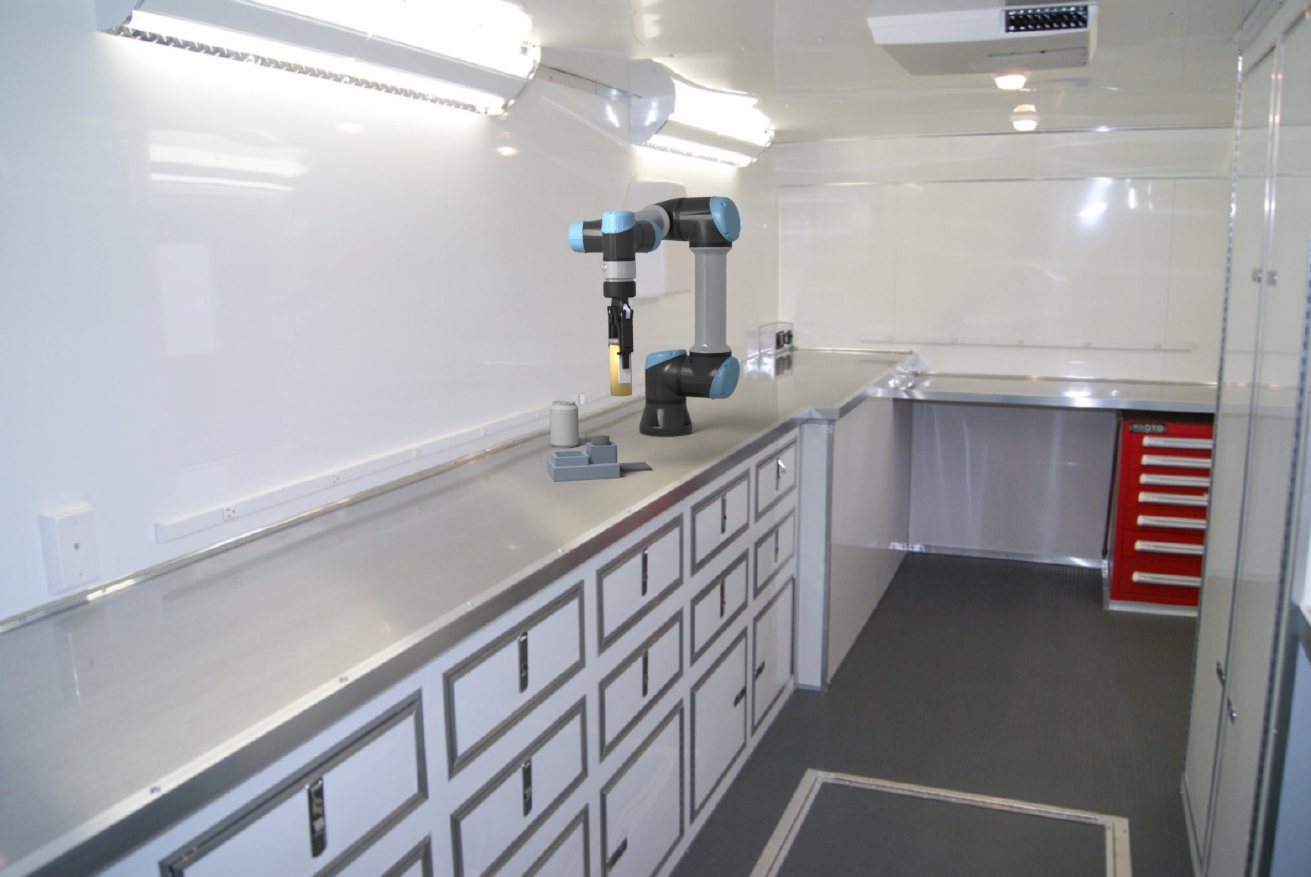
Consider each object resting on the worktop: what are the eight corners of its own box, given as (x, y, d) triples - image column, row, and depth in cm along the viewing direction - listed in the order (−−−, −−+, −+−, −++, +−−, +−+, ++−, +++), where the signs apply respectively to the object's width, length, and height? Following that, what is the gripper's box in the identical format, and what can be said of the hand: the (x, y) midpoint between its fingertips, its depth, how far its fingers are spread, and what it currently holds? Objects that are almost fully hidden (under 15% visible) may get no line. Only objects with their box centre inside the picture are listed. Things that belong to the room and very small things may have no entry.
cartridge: (629, 392, 245) (628, 337, 242) (635, 395, 240) (634, 339, 237) (607, 393, 243) (605, 338, 241) (613, 397, 238) (612, 340, 236)
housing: (610, 467, 246) (610, 439, 245) (620, 477, 235) (619, 447, 234) (547, 471, 242) (546, 442, 241) (554, 481, 232) (553, 451, 231)
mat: (644, 464, 250) (644, 461, 250) (651, 470, 243) (651, 467, 243) (616, 465, 248) (616, 463, 248) (622, 471, 242) (622, 469, 242)
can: (581, 443, 277) (580, 399, 275) (576, 448, 270) (575, 403, 267) (553, 443, 278) (552, 398, 275) (548, 448, 270) (547, 403, 268)
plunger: (607, 456, 241) (607, 435, 241) (611, 459, 238) (610, 437, 237) (592, 457, 241) (592, 435, 240) (595, 460, 237) (595, 438, 236)
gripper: (593, 279, 244) (595, 377, 248) (614, 282, 227) (616, 387, 231) (624, 278, 246) (625, 375, 250) (647, 281, 229) (648, 385, 234)
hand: (621, 380), depth 241 cm, fingers closed on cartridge, 5 cm apart
